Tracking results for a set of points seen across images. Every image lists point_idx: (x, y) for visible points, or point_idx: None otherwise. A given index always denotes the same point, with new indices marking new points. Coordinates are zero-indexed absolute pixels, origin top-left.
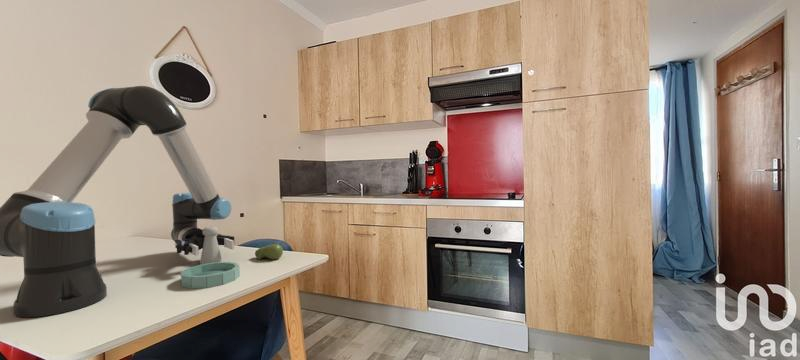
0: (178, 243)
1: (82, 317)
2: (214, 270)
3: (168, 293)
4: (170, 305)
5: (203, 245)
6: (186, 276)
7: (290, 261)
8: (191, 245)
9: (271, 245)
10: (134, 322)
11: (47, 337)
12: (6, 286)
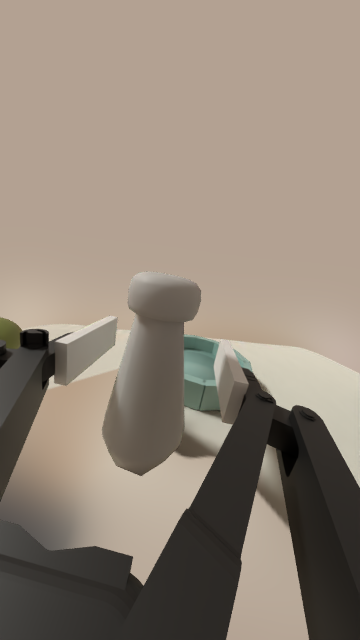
0: (334, 463)
1: (352, 388)
2: None
3: (262, 376)
4: (255, 353)
5: (182, 370)
6: (242, 356)
7: None
8: (238, 363)
9: (2, 322)
10: (280, 351)
11: (350, 373)
12: None
